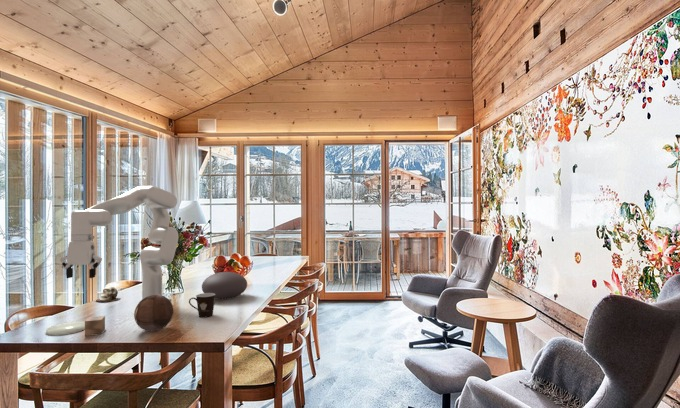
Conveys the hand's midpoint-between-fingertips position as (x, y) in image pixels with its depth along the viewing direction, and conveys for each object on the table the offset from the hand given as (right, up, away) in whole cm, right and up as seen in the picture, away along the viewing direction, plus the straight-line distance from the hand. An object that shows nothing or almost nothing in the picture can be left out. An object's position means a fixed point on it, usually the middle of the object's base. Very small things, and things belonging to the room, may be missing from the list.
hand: (80, 277), depth 168 cm
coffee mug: (+47, -22, +18) cm, 55 cm away
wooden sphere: (+34, -22, -4) cm, 41 cm away
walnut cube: (+10, -22, -7) cm, 25 cm away
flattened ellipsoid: (+47, -22, +52) cm, 74 cm away
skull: (-18, -23, +50) cm, 58 cm away
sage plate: (-4, -22, -2) cm, 22 cm away
